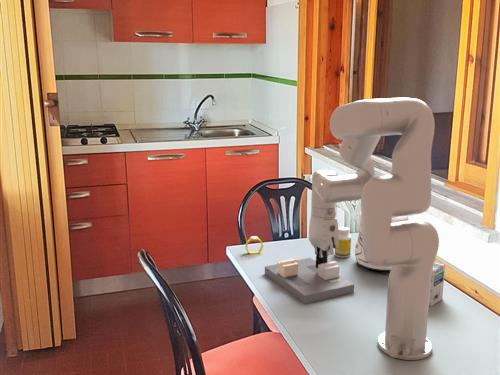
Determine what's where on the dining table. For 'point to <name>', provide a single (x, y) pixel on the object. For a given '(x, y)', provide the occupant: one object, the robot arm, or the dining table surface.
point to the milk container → (359, 248)
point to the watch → (254, 239)
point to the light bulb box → (436, 283)
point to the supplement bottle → (343, 243)
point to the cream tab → (288, 268)
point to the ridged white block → (328, 270)
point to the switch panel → (310, 282)
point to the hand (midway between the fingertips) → (321, 267)
